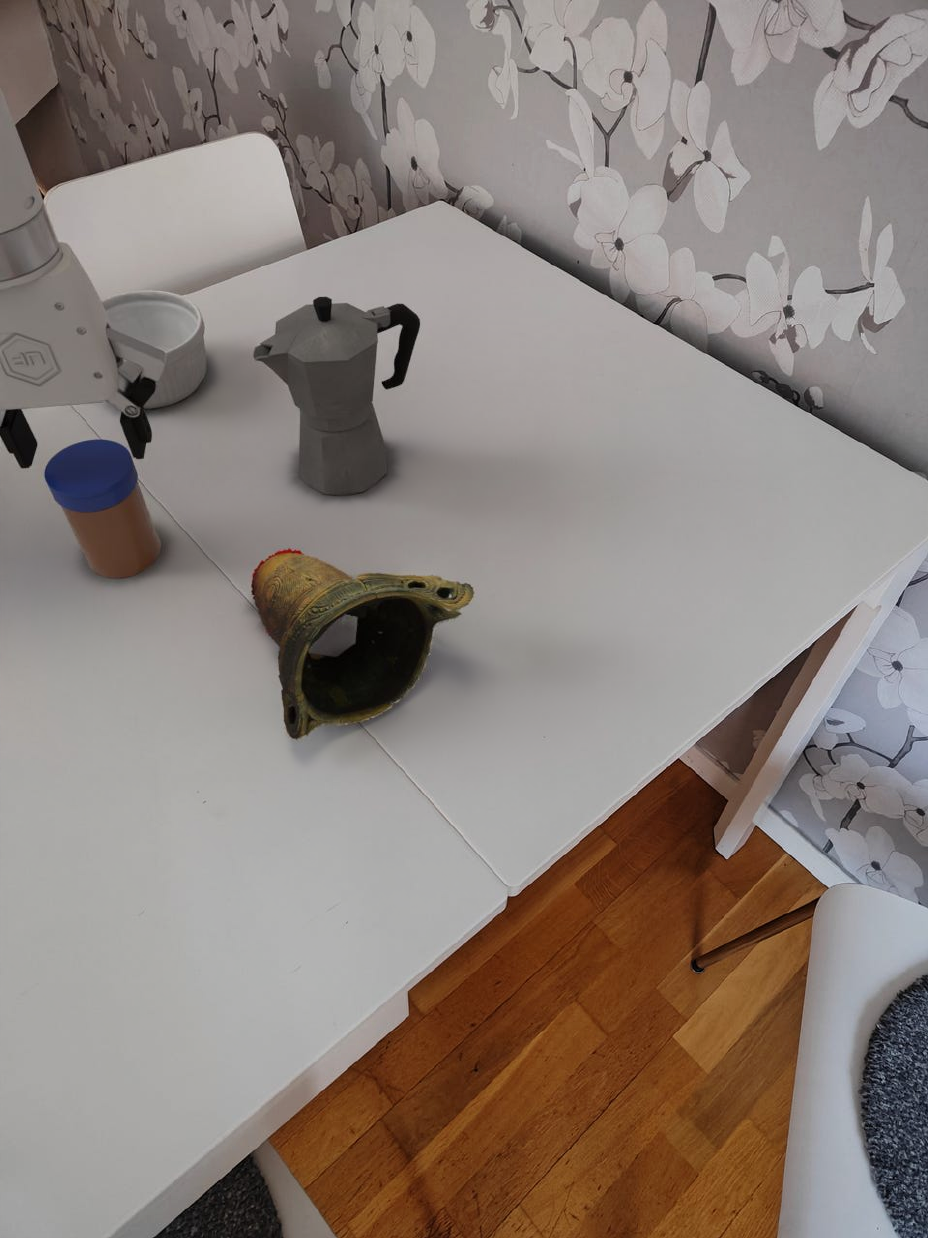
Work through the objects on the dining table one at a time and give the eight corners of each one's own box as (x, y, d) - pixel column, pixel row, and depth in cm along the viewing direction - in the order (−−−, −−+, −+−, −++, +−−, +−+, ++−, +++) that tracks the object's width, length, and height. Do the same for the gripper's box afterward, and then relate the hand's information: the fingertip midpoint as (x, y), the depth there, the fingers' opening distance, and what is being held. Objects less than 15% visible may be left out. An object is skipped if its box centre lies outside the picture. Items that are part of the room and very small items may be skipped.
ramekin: (239, 363, 97) (227, 306, 91) (166, 431, 89) (148, 373, 84) (143, 334, 100) (125, 278, 95) (65, 397, 93) (41, 340, 87)
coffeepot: (297, 516, 81) (265, 349, 68) (263, 457, 87) (227, 291, 73) (444, 466, 86) (442, 300, 72) (403, 413, 91) (394, 249, 77)
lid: (44, 515, 70) (35, 498, 68) (59, 459, 74) (51, 442, 72) (133, 508, 70) (126, 491, 69) (142, 453, 74) (136, 436, 73)
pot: (329, 464, 73) (444, 537, 59) (395, 553, 80) (510, 635, 67) (171, 605, 70) (255, 713, 57) (255, 683, 77) (346, 795, 64)
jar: (82, 581, 76) (42, 500, 69) (93, 529, 80) (56, 448, 73) (157, 575, 77) (125, 494, 69) (164, 524, 81) (134, 442, 73)
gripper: (-168, 279, 53) (-38, 493, 66) (124, 260, 54) (193, 474, 68) (-129, 220, 58) (-16, 431, 71) (138, 204, 59) (199, 415, 72)
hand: (85, 451), depth 69 cm, fingers open, 8 cm apart
